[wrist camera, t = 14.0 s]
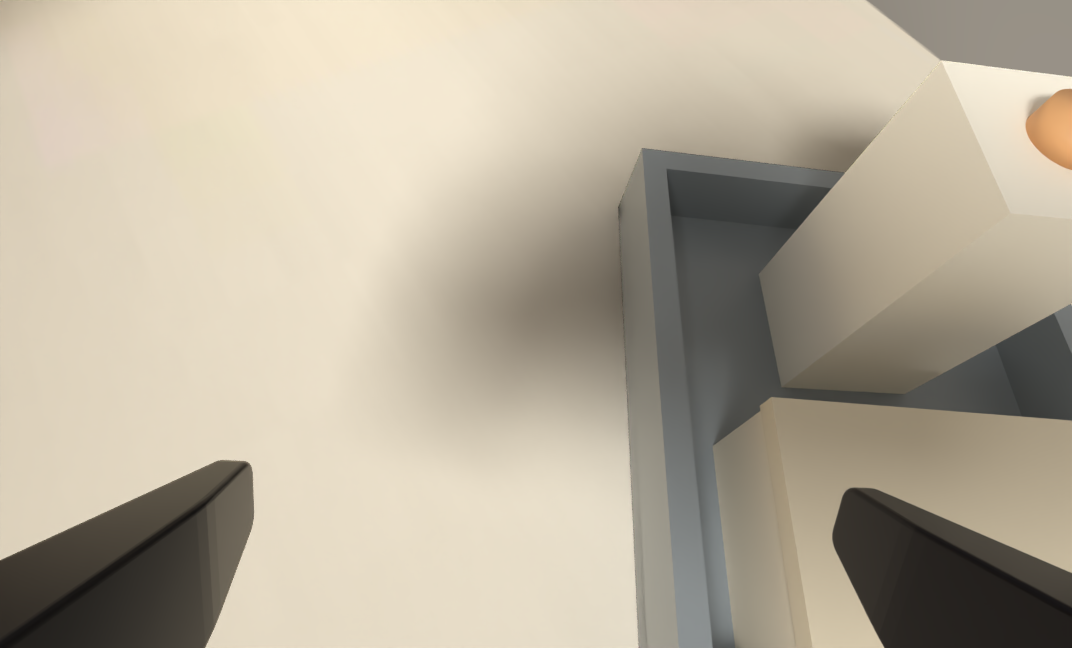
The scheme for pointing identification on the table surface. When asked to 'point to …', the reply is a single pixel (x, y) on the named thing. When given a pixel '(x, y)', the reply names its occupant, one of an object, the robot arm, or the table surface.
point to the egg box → (889, 466)
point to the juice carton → (931, 237)
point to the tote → (745, 366)
